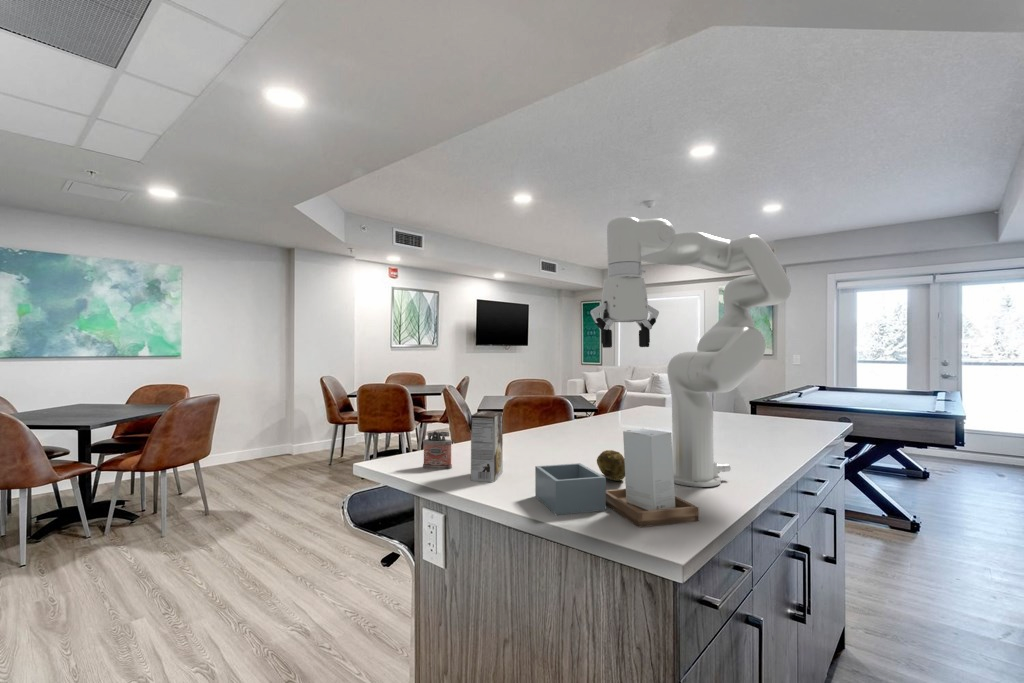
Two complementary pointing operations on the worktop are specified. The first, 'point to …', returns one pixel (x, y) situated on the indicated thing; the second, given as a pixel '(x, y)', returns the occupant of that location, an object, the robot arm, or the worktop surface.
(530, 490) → the worktop surface
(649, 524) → the tray
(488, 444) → the coffee box
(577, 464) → the grey open box frame
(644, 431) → the skincare box
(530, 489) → the worktop surface
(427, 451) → the lighter
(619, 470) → the potato
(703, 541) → the worktop surface
